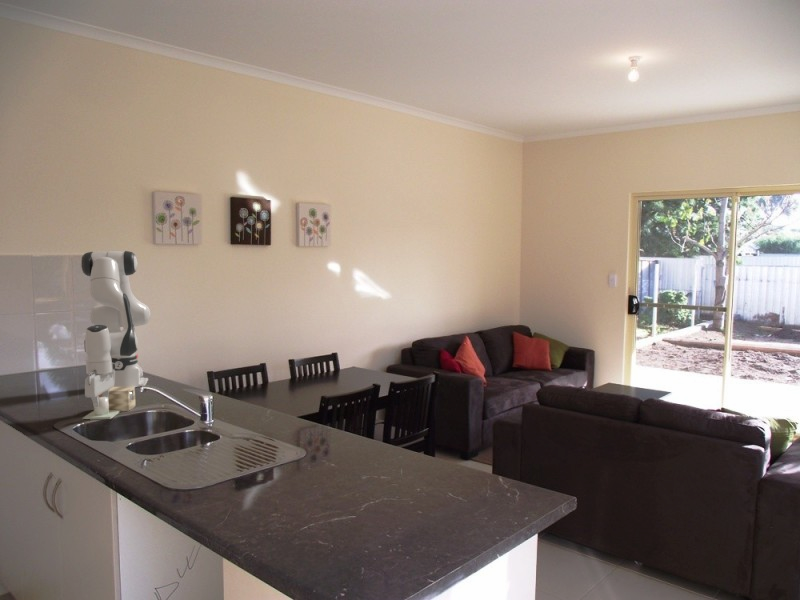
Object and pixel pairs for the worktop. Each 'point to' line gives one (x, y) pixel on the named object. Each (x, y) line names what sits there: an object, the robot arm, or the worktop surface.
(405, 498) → the worktop surface
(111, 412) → the pad
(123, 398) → the bearing block
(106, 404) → the spacer
